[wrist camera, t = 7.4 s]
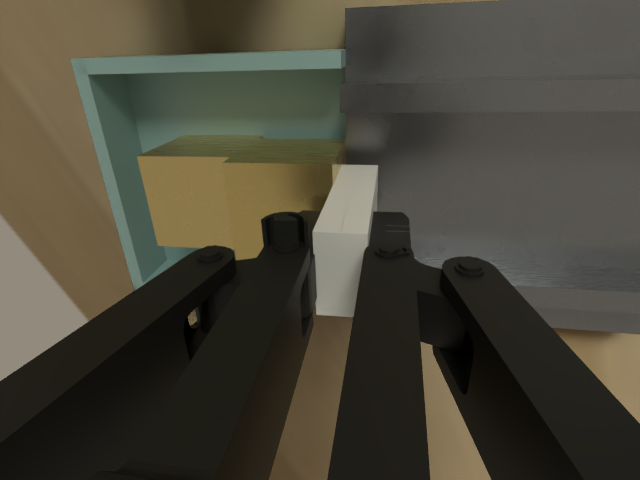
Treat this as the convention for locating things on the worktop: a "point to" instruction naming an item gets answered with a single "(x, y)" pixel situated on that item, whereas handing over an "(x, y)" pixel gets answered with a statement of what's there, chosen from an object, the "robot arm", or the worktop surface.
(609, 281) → the slot board
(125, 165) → the tray
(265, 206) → the wooden cube
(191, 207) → the wooden block
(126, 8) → the worktop surface
